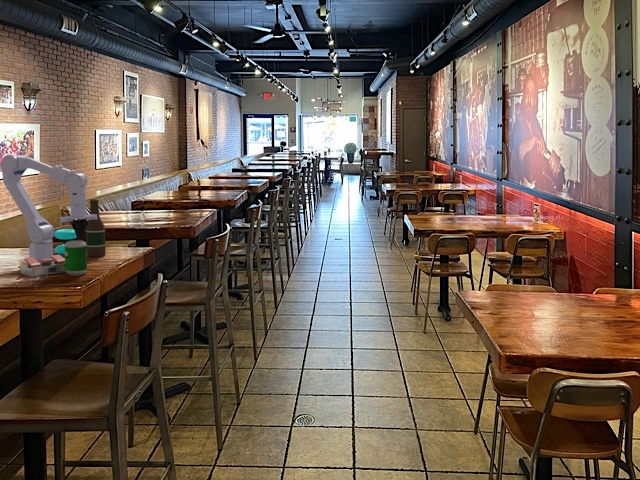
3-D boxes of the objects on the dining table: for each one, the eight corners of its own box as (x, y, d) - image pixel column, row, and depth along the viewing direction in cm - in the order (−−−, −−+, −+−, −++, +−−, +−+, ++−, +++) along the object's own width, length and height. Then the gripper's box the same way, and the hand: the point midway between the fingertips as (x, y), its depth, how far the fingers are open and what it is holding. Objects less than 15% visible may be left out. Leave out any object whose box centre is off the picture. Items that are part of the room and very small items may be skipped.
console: (20, 273, 240) (20, 263, 240) (59, 267, 251) (59, 258, 251) (32, 277, 234) (31, 266, 234) (72, 271, 245) (71, 261, 245)
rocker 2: (37, 261, 243) (37, 259, 243) (46, 260, 245) (46, 258, 245) (45, 262, 239) (45, 260, 239) (54, 261, 241) (53, 259, 241)
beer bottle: (109, 255, 280) (107, 199, 277) (94, 258, 274) (92, 200, 270) (97, 253, 284) (95, 198, 281) (82, 256, 278) (80, 199, 274)
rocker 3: (50, 257, 247) (50, 255, 246) (58, 256, 249) (59, 254, 249) (58, 263, 243) (58, 261, 243) (66, 262, 245) (66, 260, 245)
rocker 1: (24, 260, 239) (24, 258, 239) (32, 259, 241) (33, 257, 241) (31, 267, 236) (32, 265, 235) (40, 266, 238) (40, 264, 238)
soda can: (90, 272, 244) (89, 240, 243) (81, 276, 237) (80, 243, 235) (71, 271, 245) (70, 239, 243) (61, 275, 238) (60, 242, 236)
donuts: (83, 229, 285) (64, 232, 277) (84, 252, 287) (65, 255, 278) (68, 228, 290) (48, 230, 282) (69, 250, 292) (49, 253, 283)
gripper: (65, 206, 245) (67, 242, 247) (100, 203, 256) (102, 238, 258) (56, 205, 250) (58, 240, 252) (91, 202, 260) (92, 236, 262)
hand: (80, 239), depth 255 cm, fingers closed
